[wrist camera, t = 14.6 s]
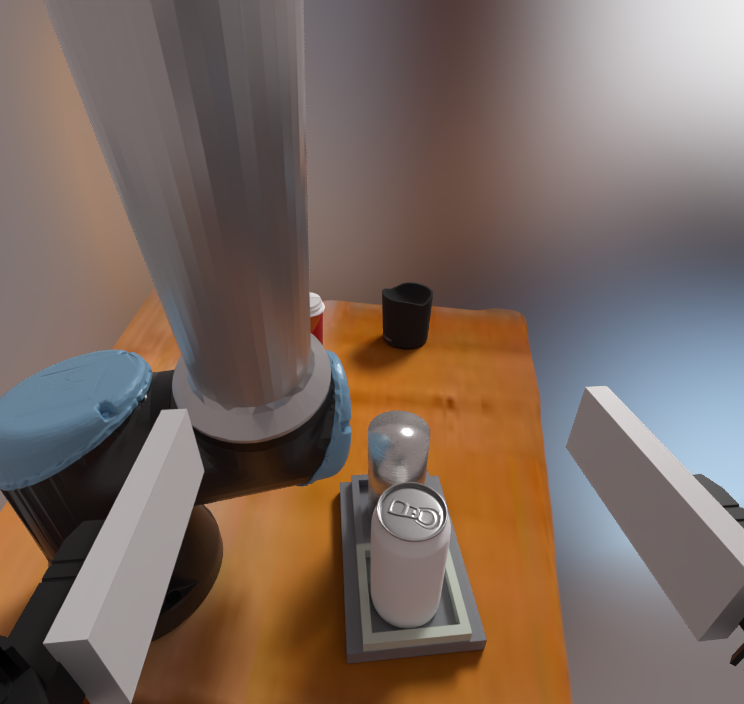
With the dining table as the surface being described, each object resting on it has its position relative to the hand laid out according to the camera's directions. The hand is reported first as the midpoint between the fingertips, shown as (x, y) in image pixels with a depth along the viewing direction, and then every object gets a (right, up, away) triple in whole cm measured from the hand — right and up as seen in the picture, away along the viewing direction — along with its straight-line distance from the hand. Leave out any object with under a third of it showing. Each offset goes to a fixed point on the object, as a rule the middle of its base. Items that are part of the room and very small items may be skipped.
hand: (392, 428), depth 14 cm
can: (+2, -20, +26) cm, 33 cm away
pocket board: (+2, -19, +30) cm, 36 cm away
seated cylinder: (+2, -15, +33) cm, 37 cm away
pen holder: (+6, +5, +70) cm, 71 cm away
